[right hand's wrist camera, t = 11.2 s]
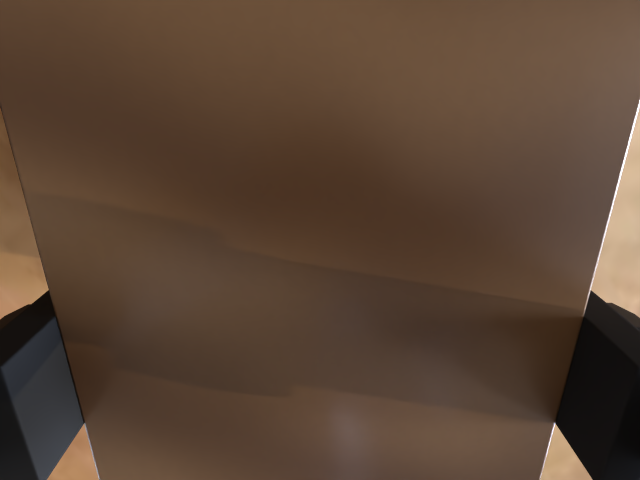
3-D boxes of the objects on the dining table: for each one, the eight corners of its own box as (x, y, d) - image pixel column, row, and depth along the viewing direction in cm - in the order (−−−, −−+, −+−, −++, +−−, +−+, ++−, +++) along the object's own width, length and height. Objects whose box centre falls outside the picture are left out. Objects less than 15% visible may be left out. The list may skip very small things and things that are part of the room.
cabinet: (171, -164, 15) (-251, -824, 4) (468, -163, 15) (890, -820, 4) (216, 287, 21) (108, 518, 10) (423, 287, 21) (531, 517, 10)
